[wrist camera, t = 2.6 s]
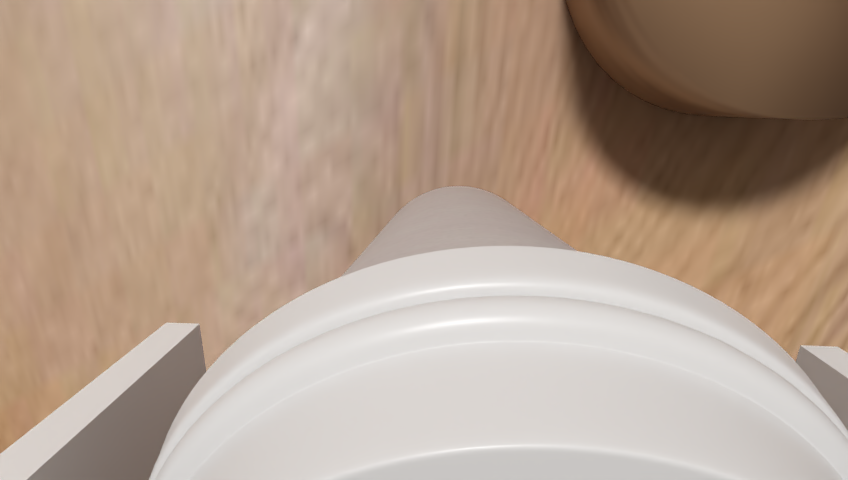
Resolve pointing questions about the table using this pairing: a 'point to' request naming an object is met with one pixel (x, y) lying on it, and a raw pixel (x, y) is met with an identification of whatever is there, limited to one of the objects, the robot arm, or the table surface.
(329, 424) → the coffee cup
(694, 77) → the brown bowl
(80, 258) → the table surface
